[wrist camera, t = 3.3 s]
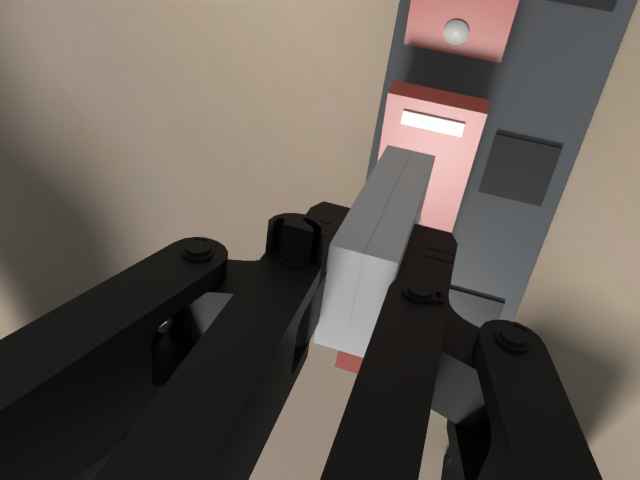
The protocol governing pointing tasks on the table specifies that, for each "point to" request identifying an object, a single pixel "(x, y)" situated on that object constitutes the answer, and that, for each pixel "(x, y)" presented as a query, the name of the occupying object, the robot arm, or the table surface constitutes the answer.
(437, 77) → the power strip
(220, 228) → the table surface
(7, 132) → the table surface
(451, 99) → the rocker
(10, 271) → the table surface
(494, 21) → the rocker
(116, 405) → the robot arm
